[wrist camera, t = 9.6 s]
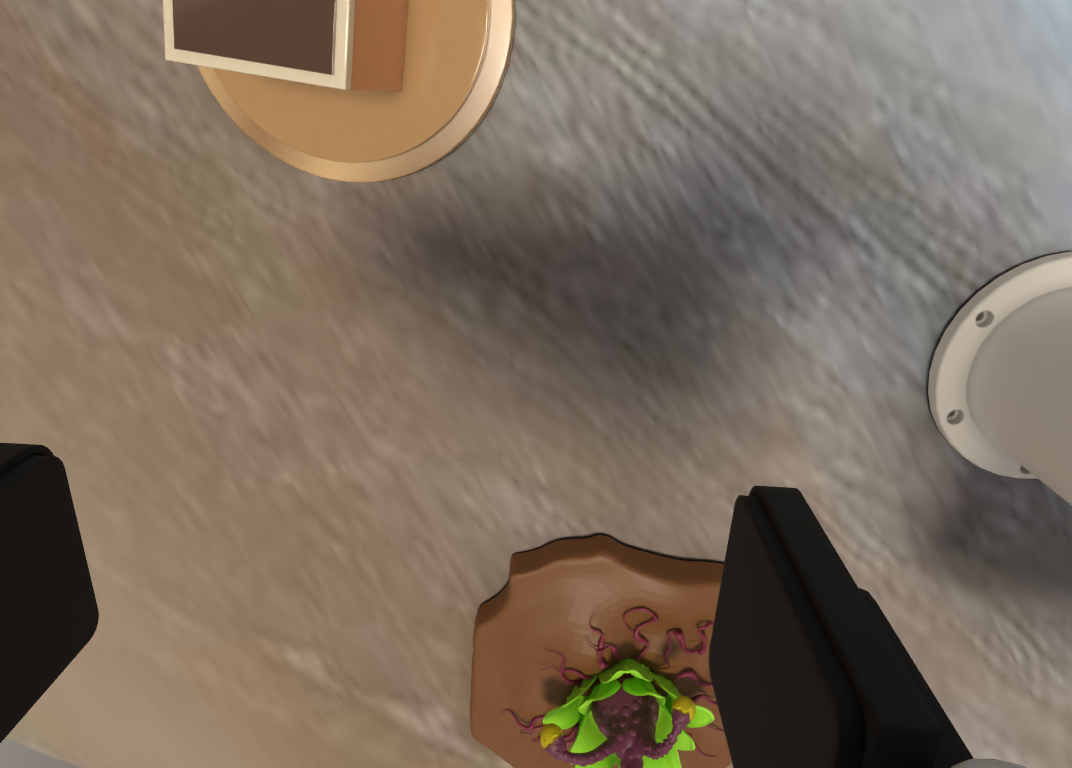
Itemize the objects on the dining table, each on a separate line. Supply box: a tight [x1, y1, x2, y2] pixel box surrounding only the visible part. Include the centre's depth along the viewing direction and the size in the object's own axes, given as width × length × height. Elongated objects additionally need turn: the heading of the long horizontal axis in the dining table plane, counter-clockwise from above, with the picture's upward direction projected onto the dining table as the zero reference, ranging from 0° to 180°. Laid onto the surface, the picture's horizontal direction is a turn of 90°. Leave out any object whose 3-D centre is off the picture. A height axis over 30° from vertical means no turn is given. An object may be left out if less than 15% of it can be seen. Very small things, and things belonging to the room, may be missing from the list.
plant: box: [470, 535, 732, 768], centre depth 42 cm, size 20×20×11 cm
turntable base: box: [198, 0, 515, 183], centre depth 32 cm, size 15×15×1 cm
